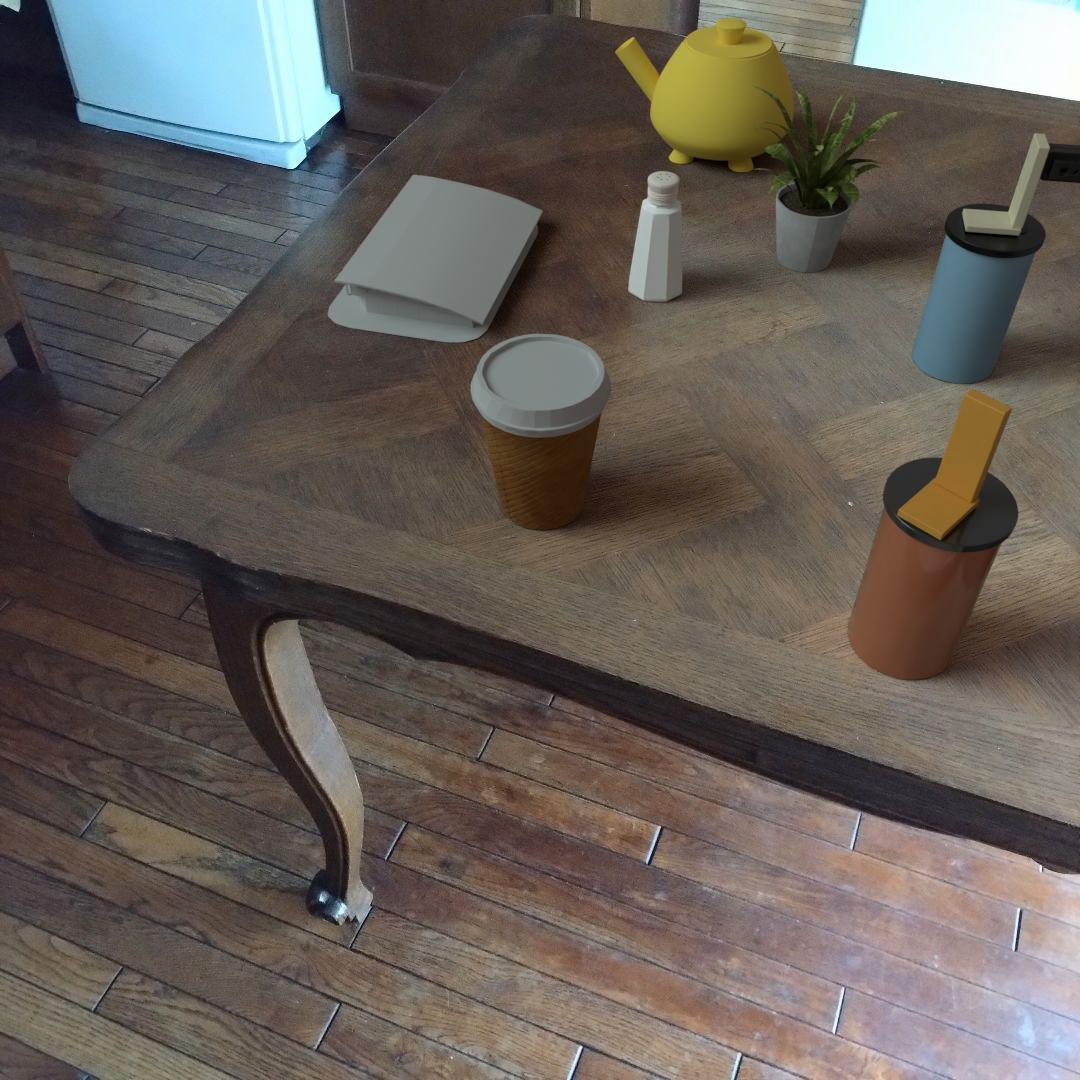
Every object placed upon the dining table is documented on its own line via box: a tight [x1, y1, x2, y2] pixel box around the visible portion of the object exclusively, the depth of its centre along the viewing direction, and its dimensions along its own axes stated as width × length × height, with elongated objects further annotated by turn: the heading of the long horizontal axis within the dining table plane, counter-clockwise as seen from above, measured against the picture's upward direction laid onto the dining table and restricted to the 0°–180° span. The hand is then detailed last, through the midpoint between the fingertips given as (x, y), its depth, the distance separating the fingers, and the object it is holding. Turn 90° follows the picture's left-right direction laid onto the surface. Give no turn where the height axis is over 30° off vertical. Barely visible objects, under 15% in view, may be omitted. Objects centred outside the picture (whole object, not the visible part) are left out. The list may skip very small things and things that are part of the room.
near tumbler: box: [847, 456, 1019, 681], centre depth 65 cm, size 7×7×13 cm
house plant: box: [751, 85, 908, 273], centre depth 97 cm, size 14×14×16 cm
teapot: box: [614, 17, 795, 173], centre depth 115 cm, size 20×16×14 cm
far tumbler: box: [911, 203, 1047, 385], centre depth 87 cm, size 7×7×13 cm
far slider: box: [962, 132, 1050, 236], centre depth 80 cm, size 4×3×7 cm
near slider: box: [897, 388, 1013, 540], centre depth 58 cm, size 4×3×7 cm
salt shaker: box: [627, 170, 683, 303], centre depth 96 cm, size 5×5×11 cm
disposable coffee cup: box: [470, 333, 612, 531], centre depth 75 cm, size 10×10×12 cm
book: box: [327, 174, 544, 344], centre depth 101 cm, size 15×23×4 cm, turn 165°
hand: (1040, 161), depth 78 cm, fingers closed
